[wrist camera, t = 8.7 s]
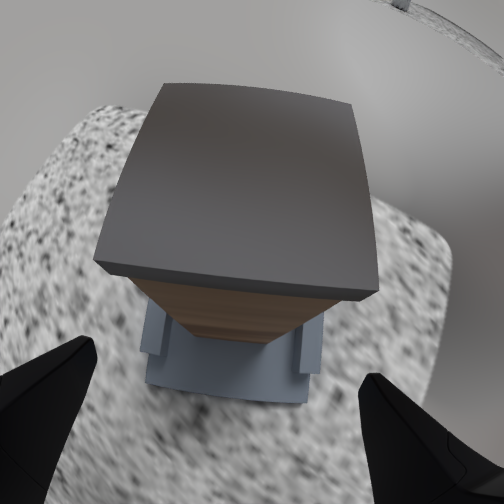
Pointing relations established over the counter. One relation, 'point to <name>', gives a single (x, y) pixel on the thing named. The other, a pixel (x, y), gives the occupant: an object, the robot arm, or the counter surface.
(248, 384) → the base with wooden posts
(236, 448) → the counter surface
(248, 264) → the rail end
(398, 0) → the bottle
